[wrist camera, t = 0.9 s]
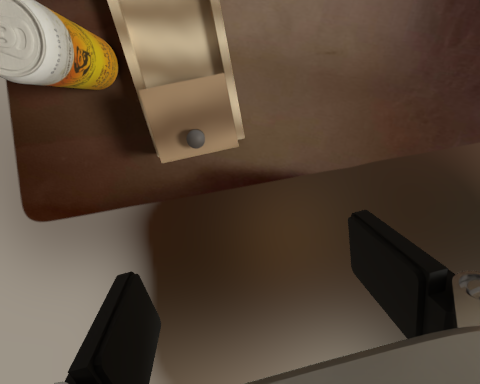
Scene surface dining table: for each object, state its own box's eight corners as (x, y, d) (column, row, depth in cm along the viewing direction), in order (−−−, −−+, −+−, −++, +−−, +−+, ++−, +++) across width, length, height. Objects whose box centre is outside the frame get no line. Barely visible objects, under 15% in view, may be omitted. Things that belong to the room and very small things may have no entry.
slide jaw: (150, 92, 32) (135, 90, 25) (221, 77, 32) (225, 71, 25) (169, 153, 35) (159, 165, 28) (234, 139, 35) (240, 148, 28)
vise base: (105, -22, 28) (68, -66, 21) (209, -41, 29) (209, -90, 21) (161, 153, 36) (148, 167, 28) (242, 135, 36) (251, 144, 29)
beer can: (119, 94, 32) (51, 91, 19) (67, 83, 31) (-45, 71, 17) (121, 43, 31) (49, -5, 17) (67, 29, 29) (-60, -34, 15)
